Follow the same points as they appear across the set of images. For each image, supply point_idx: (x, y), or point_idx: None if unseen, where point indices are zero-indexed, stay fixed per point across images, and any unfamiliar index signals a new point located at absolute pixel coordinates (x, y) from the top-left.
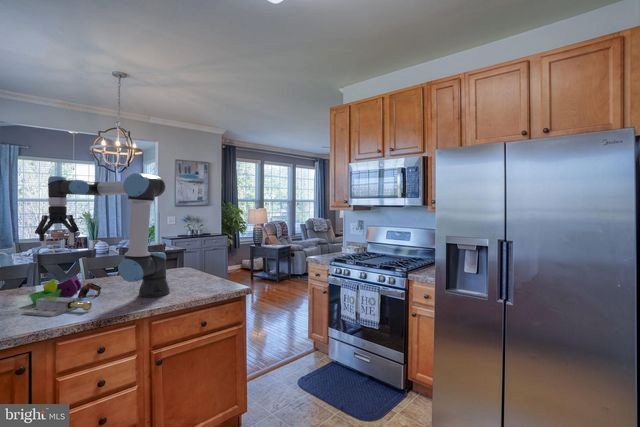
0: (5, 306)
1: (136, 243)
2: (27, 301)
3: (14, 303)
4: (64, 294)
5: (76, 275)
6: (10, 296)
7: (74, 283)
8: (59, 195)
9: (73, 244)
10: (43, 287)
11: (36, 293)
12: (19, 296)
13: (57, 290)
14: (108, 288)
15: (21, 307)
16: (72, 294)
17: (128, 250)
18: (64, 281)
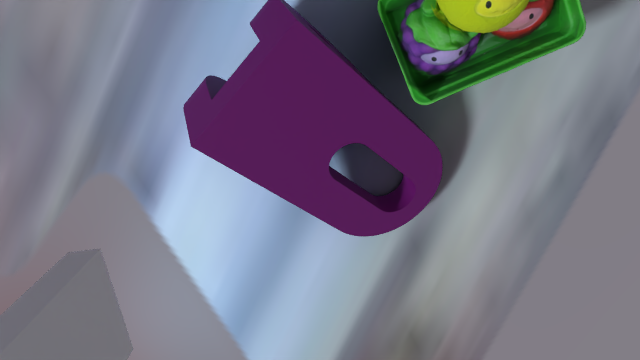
0: (618, 124)
1: None
2: (500, 137)
3: (557, 154)
4: (333, 46)
5: (191, 145)
6: (469, 342)
7: (272, 15)
8: None
9: (77, 253)
10: None
11: (519, 58)
12: (449, 302)
13: (391, 34)
14: (35, 18)
15: (604, 6)
16: (296, 11)
17: None
18: (319, 85)
